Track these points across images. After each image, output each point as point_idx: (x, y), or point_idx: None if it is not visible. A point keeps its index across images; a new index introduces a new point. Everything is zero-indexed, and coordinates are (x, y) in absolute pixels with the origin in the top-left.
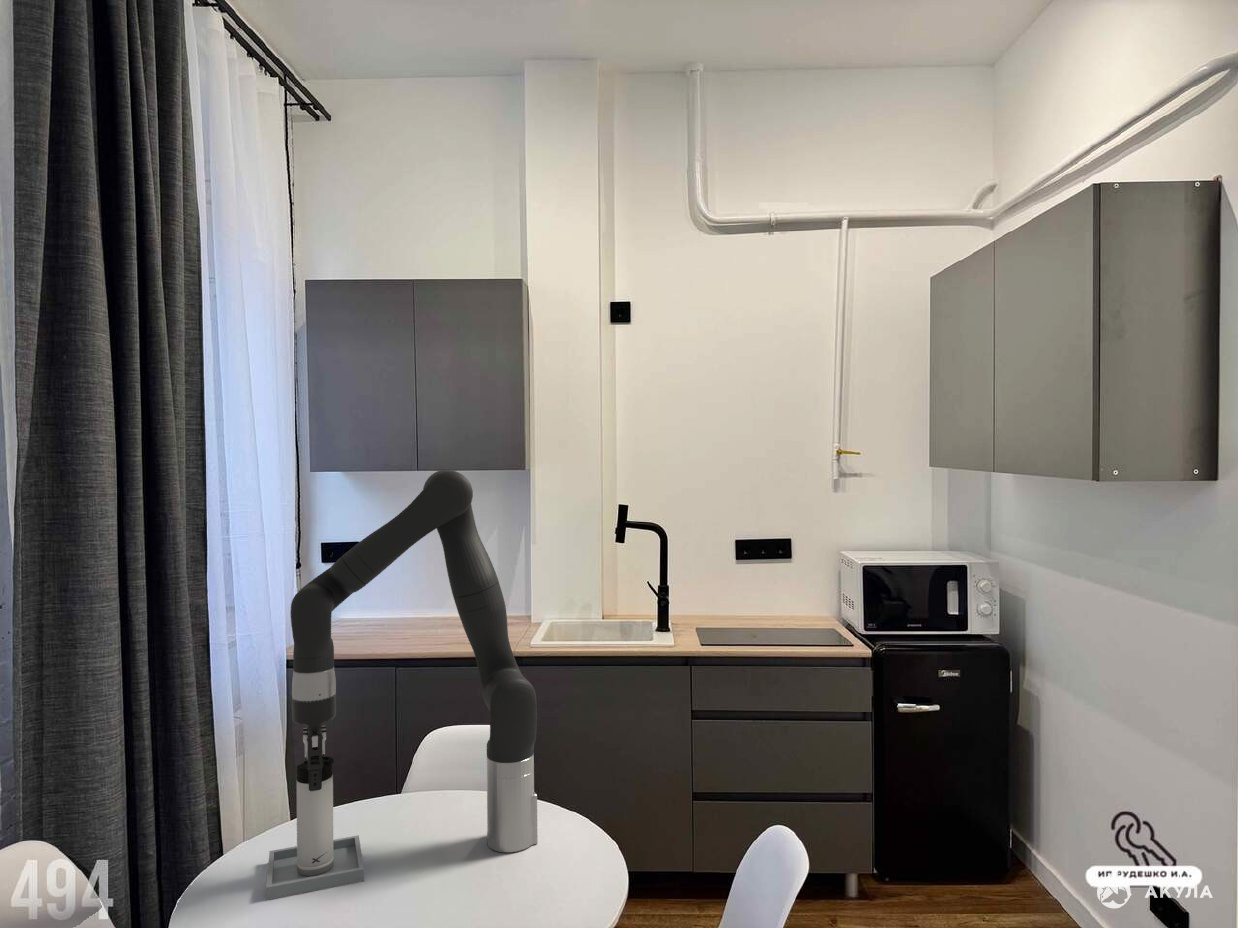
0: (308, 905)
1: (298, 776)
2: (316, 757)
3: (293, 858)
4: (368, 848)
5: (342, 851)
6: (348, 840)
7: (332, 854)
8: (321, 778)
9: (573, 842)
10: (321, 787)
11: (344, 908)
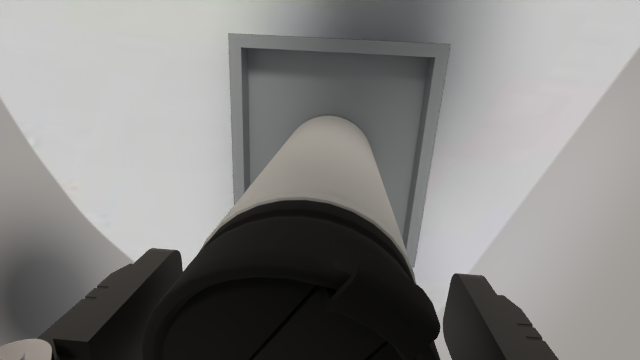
0: (480, 179)
1: None
2: (118, 344)
3: None
4: (260, 11)
5: (266, 84)
6: (242, 66)
7: (346, 122)
8: (510, 319)
9: None
10: (481, 277)
11: (544, 108)
